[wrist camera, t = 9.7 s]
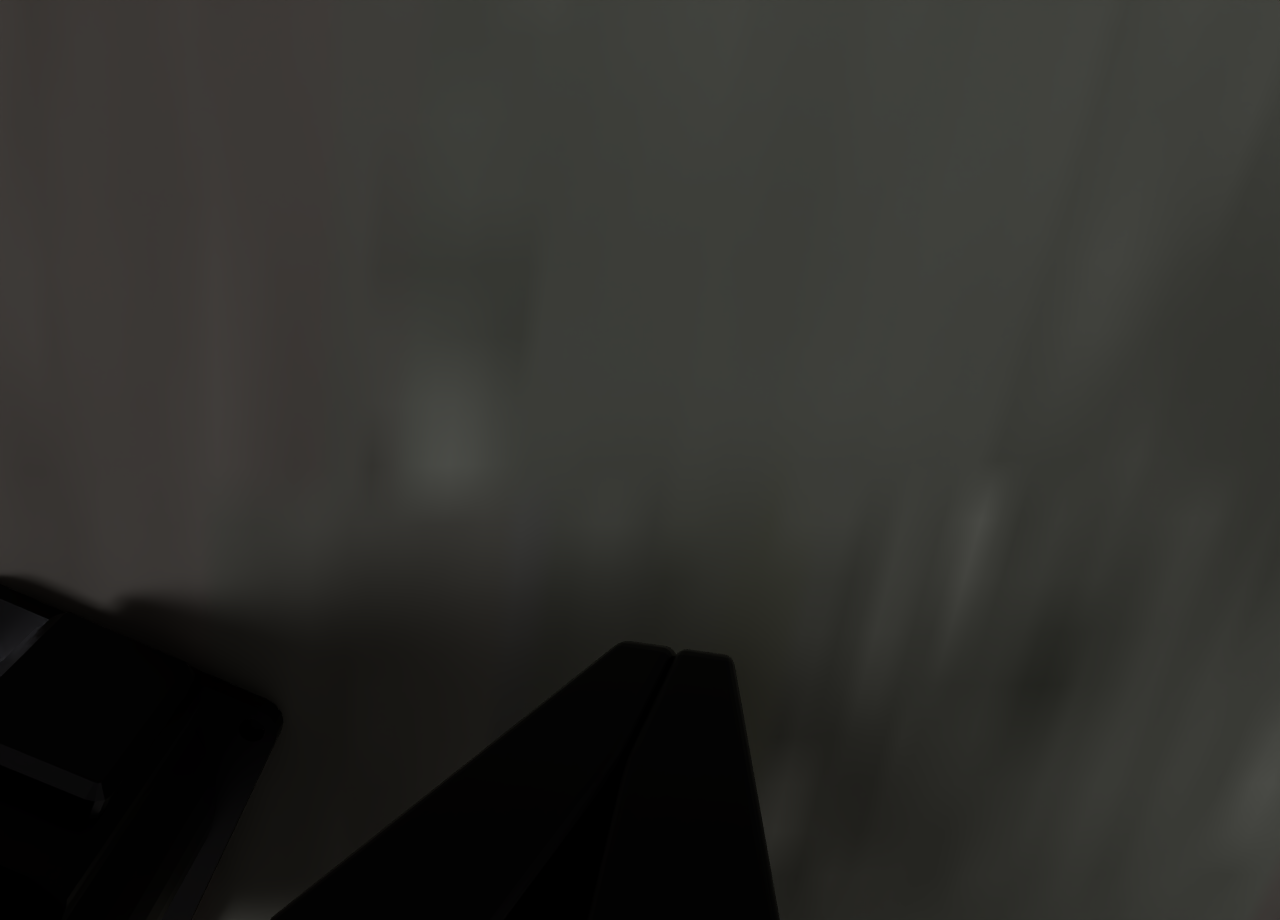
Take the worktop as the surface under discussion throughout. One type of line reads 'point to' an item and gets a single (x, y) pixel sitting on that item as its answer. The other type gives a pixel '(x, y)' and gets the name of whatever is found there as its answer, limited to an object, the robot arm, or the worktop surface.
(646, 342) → the worktop surface
